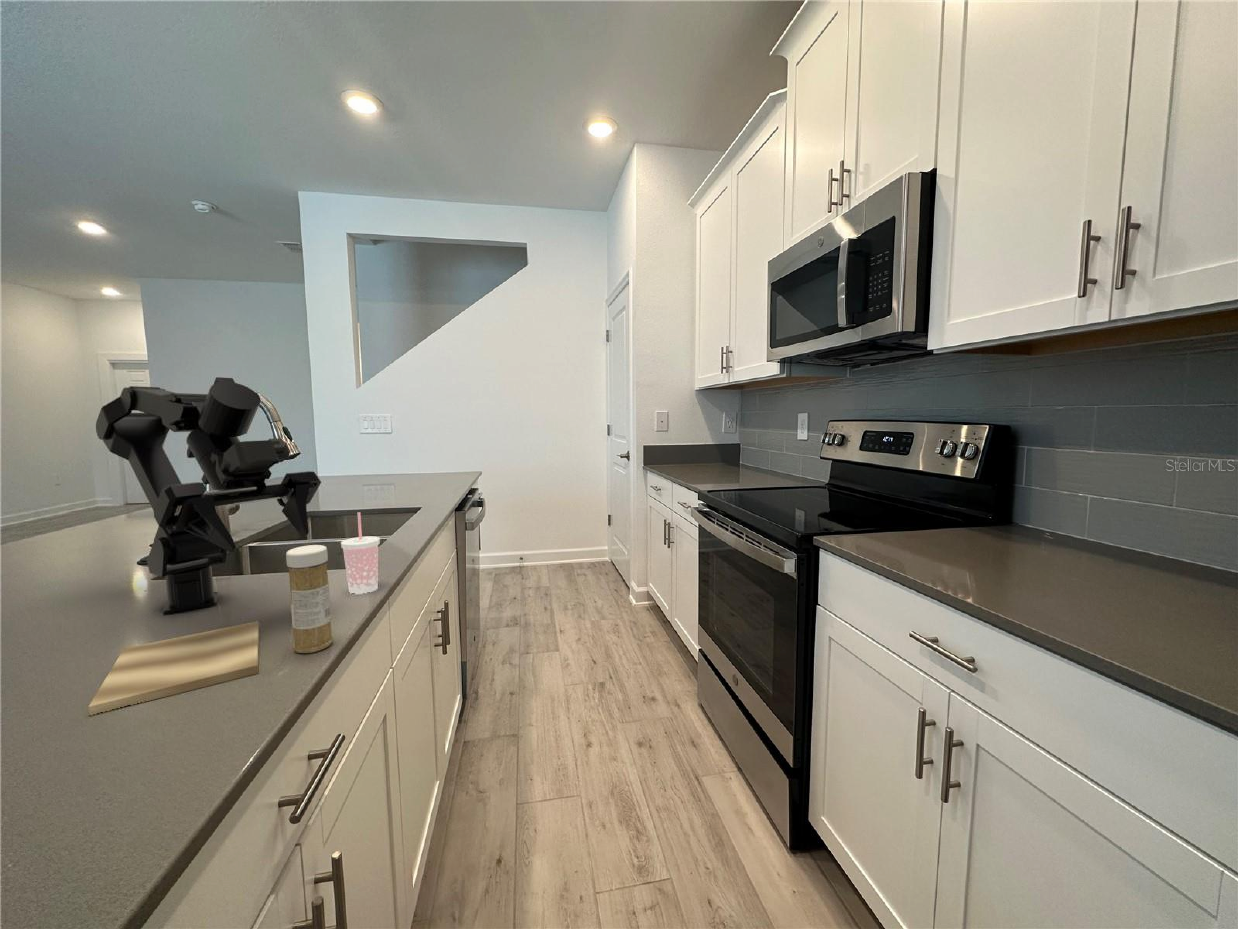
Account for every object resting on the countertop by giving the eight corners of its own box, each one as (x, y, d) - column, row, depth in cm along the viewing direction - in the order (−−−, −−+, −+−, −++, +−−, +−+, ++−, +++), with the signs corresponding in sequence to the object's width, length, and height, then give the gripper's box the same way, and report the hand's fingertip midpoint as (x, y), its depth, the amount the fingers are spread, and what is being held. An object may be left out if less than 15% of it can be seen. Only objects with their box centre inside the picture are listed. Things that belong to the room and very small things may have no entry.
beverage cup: (386, 590, 86) (381, 512, 85) (346, 598, 83) (341, 517, 81) (378, 581, 91) (374, 507, 90) (341, 588, 88) (336, 512, 86)
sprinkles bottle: (307, 639, 68) (301, 544, 66) (340, 639, 67) (334, 543, 66) (285, 655, 63) (277, 553, 62) (320, 655, 63) (313, 553, 62)
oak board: (125, 655, 63) (124, 648, 63) (258, 627, 71) (258, 621, 71) (89, 715, 50) (88, 706, 50) (257, 673, 58) (257, 665, 58)
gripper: (154, 420, 60) (207, 517, 56) (309, 419, 76) (359, 494, 72) (133, 481, 64) (181, 574, 60) (284, 467, 81) (330, 540, 77)
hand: (272, 542), depth 67 cm, fingers open, 9 cm apart
